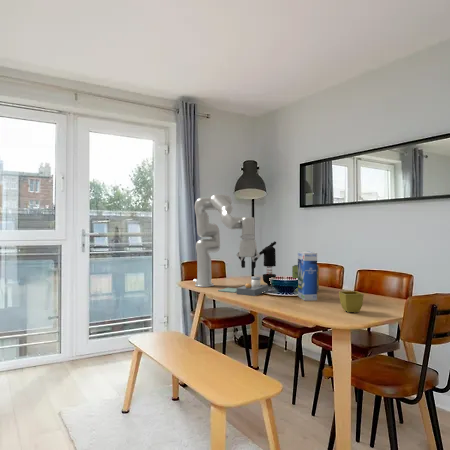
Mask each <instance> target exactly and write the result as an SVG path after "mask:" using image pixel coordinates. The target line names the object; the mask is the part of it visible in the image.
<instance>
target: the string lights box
mask: <svg viewBox="0 0 450 450" xmlns="http://www.w3.org/2000/svg"><path fill="white" fill-rule="evenodd" d="M297 265H298V291H297V297H299V298H300V299H301V300H303V301H305V302H306V301H318V292H317V265H318V253H317V252H315V251H314V252H313V251H309V250H306V251H305V250H303V251H299V250H298V251H297Z"/></svg>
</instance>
